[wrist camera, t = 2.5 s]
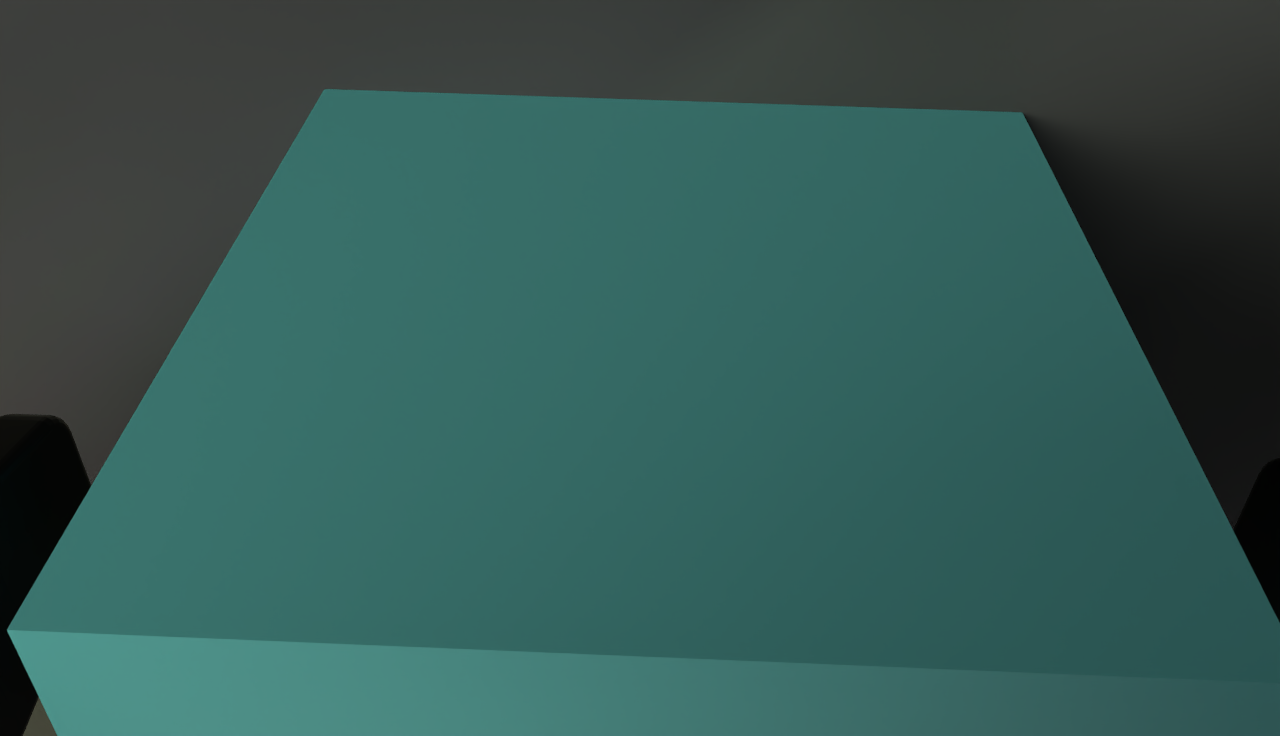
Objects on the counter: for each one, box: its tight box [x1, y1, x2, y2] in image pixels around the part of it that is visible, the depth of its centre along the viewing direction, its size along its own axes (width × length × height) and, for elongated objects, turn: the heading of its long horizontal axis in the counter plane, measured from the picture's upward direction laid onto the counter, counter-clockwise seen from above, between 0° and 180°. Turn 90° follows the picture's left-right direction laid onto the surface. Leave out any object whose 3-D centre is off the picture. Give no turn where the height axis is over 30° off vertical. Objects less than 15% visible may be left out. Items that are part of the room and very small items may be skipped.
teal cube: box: [7, 89, 1280, 736], centre depth 8 cm, size 5×5×5 cm
